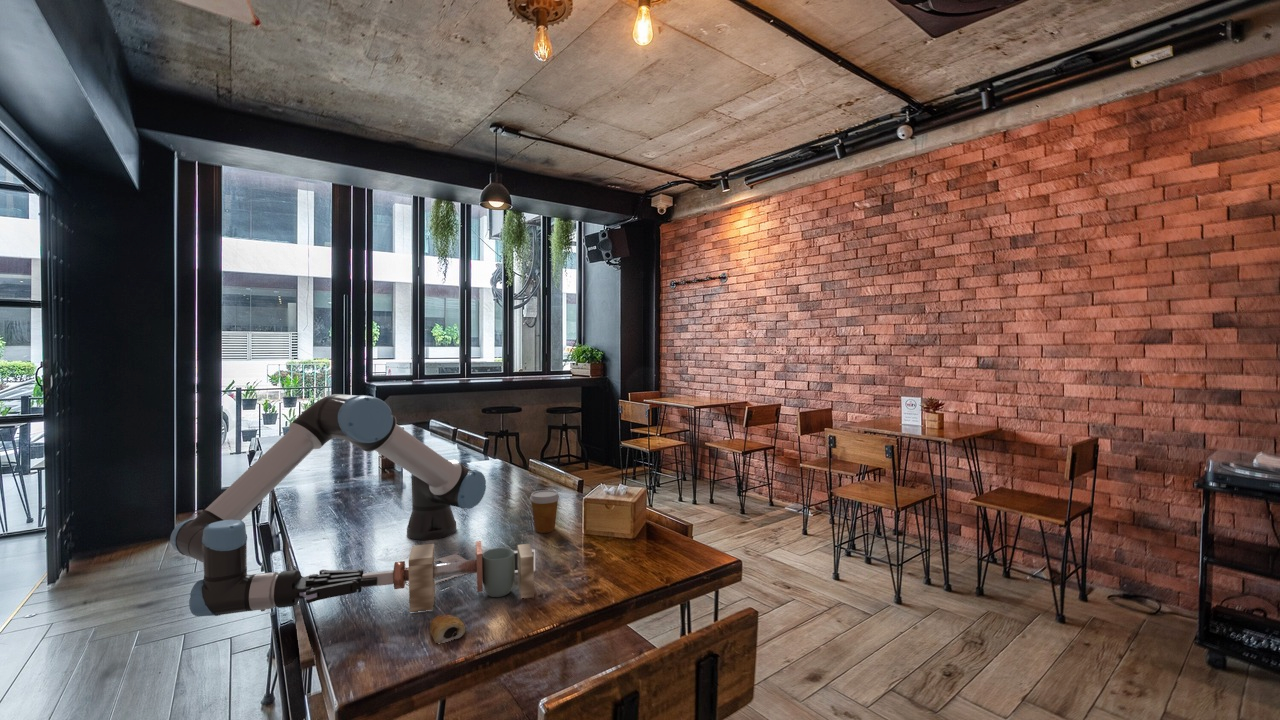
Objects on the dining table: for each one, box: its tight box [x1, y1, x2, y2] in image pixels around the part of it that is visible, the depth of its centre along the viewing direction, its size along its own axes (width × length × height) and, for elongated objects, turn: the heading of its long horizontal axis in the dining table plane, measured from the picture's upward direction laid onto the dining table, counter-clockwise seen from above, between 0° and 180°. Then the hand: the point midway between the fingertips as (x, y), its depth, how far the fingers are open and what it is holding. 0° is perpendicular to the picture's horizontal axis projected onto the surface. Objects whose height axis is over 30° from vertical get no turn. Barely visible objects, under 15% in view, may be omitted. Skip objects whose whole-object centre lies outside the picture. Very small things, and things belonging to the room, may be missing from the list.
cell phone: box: [513, 548, 536, 574], centre depth 160 cm, size 8×16×1 cm, turn 11°
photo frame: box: [405, 553, 469, 584], centre depth 153 cm, size 15×1×18 cm
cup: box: [482, 547, 516, 598], centre depth 139 cm, size 8×8×10 cm
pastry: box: [429, 614, 466, 644], centre depth 121 cm, size 9×7×4 cm
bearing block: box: [408, 543, 436, 613], centre depth 134 cm, size 5×9×12 cm, turn 17°
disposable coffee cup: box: [529, 489, 560, 534], centre depth 186 cm, size 10×10×12 cm
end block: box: [517, 543, 535, 600], centre depth 141 cm, size 3×9×10 cm, turn 17°
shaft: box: [392, 540, 484, 593], centre depth 135 cm, size 20×9×9 cm, turn 107°
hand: (393, 577), depth 132 cm, fingers closed
